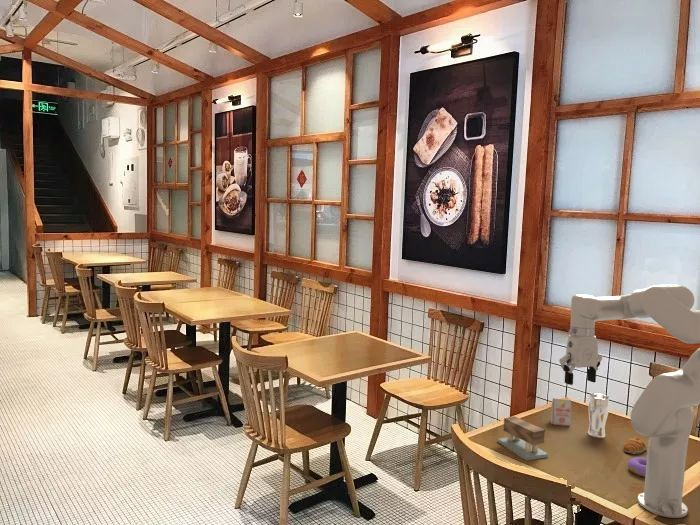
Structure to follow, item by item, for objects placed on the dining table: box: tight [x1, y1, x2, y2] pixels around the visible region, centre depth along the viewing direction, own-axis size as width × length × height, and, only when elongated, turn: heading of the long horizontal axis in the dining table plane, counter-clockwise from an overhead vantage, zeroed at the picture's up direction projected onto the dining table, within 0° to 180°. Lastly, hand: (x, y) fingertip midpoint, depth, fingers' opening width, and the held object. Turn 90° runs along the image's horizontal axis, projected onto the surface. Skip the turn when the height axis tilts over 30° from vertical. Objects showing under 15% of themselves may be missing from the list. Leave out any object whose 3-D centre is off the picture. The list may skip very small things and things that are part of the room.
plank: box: [502, 415, 545, 445], centre depth 199 cm, size 14×5×4 cm, turn 29°
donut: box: [627, 456, 647, 478], centre depth 185 cm, size 10×9×5 cm
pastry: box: [623, 437, 648, 455], centre depth 202 cm, size 9×7×4 cm
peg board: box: [497, 433, 549, 461], centre depth 199 cm, size 16×9×5 cm, turn 20°
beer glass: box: [587, 392, 610, 439], centre depth 214 cm, size 7×7×15 cm
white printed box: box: [550, 398, 572, 427], centre depth 225 cm, size 4×7×10 cm, turn 80°
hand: (580, 382), depth 190 cm, fingers open, 9 cm apart
